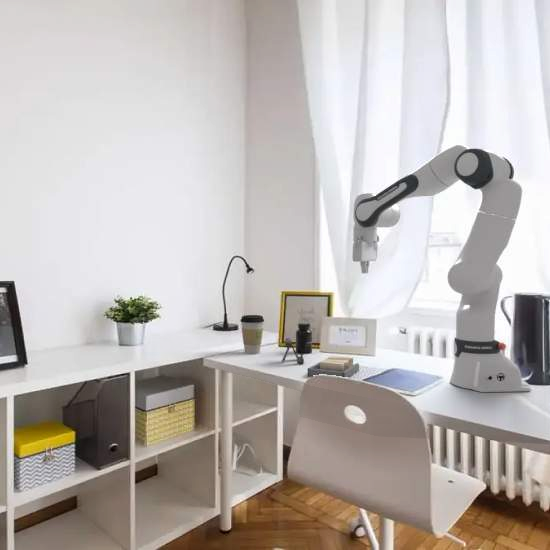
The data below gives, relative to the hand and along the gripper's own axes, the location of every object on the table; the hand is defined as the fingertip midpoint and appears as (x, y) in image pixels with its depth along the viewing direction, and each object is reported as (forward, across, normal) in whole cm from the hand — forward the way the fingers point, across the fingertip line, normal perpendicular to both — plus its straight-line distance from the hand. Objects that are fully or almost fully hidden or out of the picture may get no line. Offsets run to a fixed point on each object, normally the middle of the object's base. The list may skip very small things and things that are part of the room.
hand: (364, 273), depth 186 cm
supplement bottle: (+33, +1, +26) cm, 42 cm away
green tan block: (+31, -18, +3) cm, 36 cm away
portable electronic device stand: (+33, -17, +23) cm, 44 cm away
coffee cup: (+33, -9, +45) cm, 56 cm away
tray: (+33, -26, +3) cm, 42 cm away
